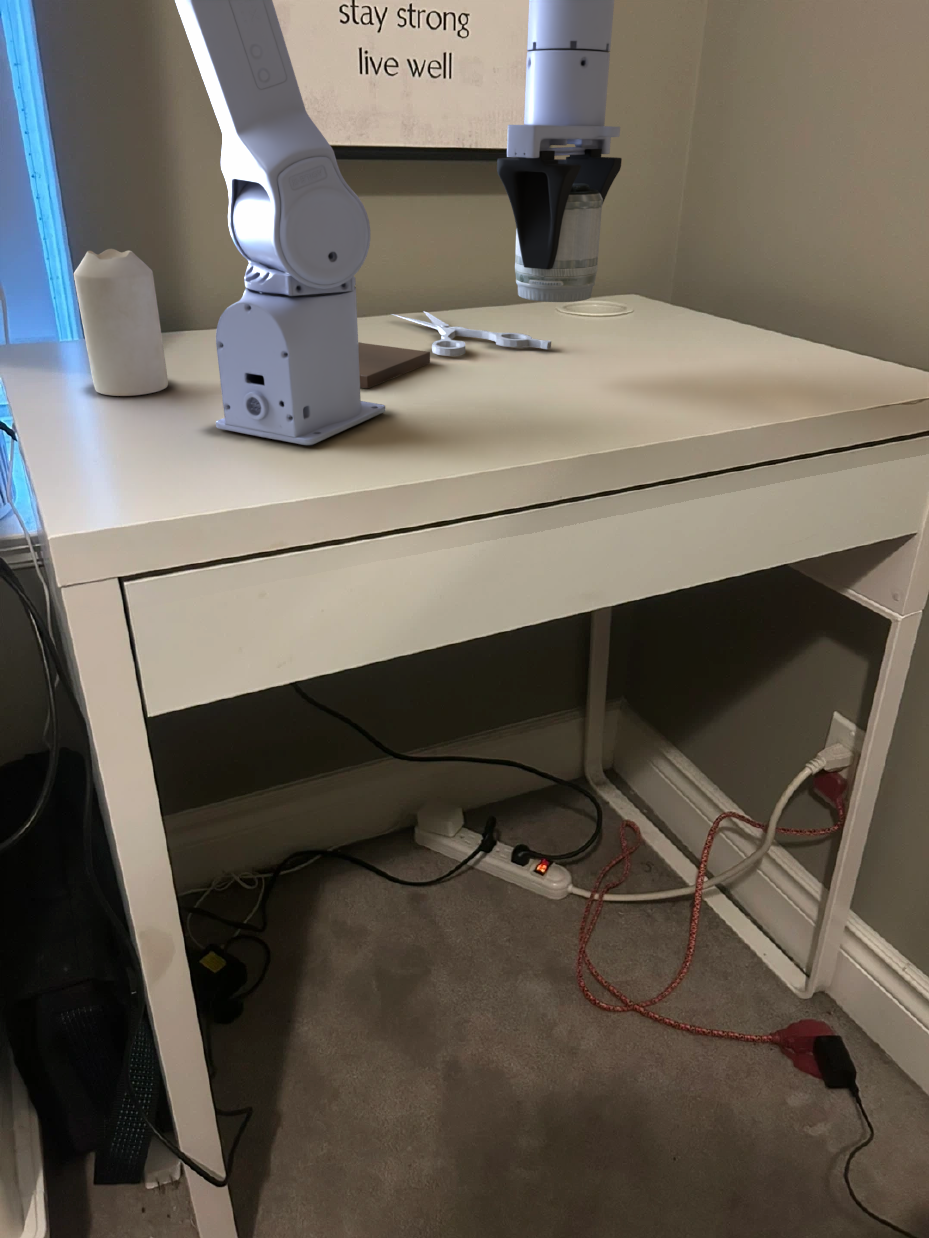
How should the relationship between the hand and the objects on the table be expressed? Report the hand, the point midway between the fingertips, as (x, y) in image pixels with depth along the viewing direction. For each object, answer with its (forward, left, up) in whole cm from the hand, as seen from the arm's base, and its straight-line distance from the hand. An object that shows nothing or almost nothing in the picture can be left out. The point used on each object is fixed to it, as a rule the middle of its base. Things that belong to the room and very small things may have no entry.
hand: (555, 263), depth 70 cm
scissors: (+13, +16, -9) cm, 22 cm away
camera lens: (0, 0, -3) cm, 3 cm away
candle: (-17, +28, -9) cm, 34 cm away
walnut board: (-3, +17, -9) cm, 20 cm away
